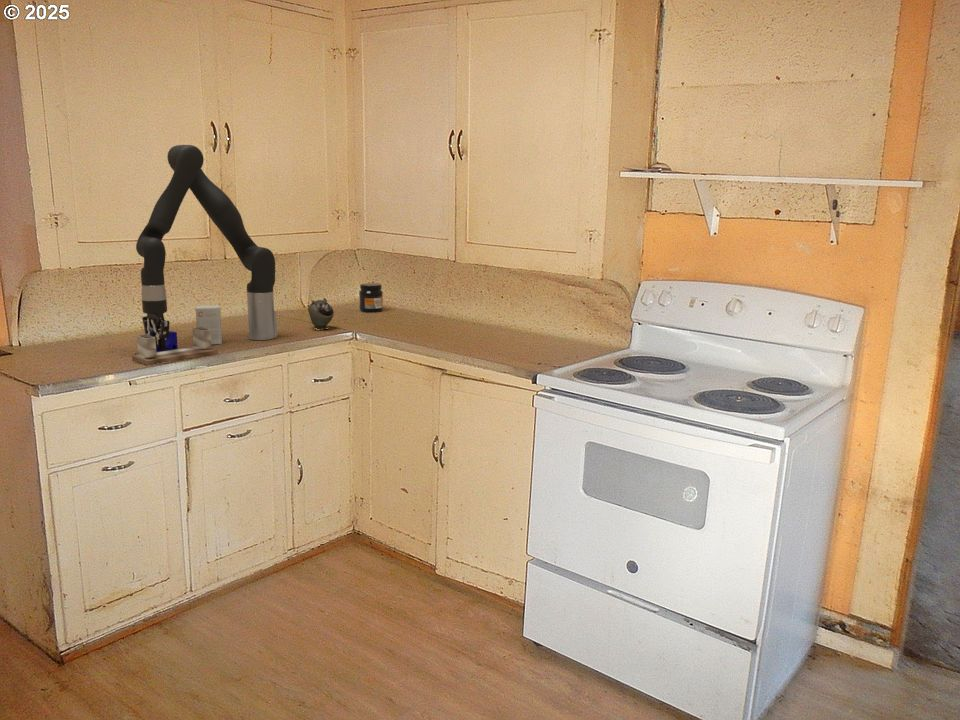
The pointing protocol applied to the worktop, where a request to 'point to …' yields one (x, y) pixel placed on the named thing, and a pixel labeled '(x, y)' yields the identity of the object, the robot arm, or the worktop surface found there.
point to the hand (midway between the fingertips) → (157, 348)
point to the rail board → (151, 357)
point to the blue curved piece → (170, 342)
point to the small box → (210, 321)
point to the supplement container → (371, 297)
